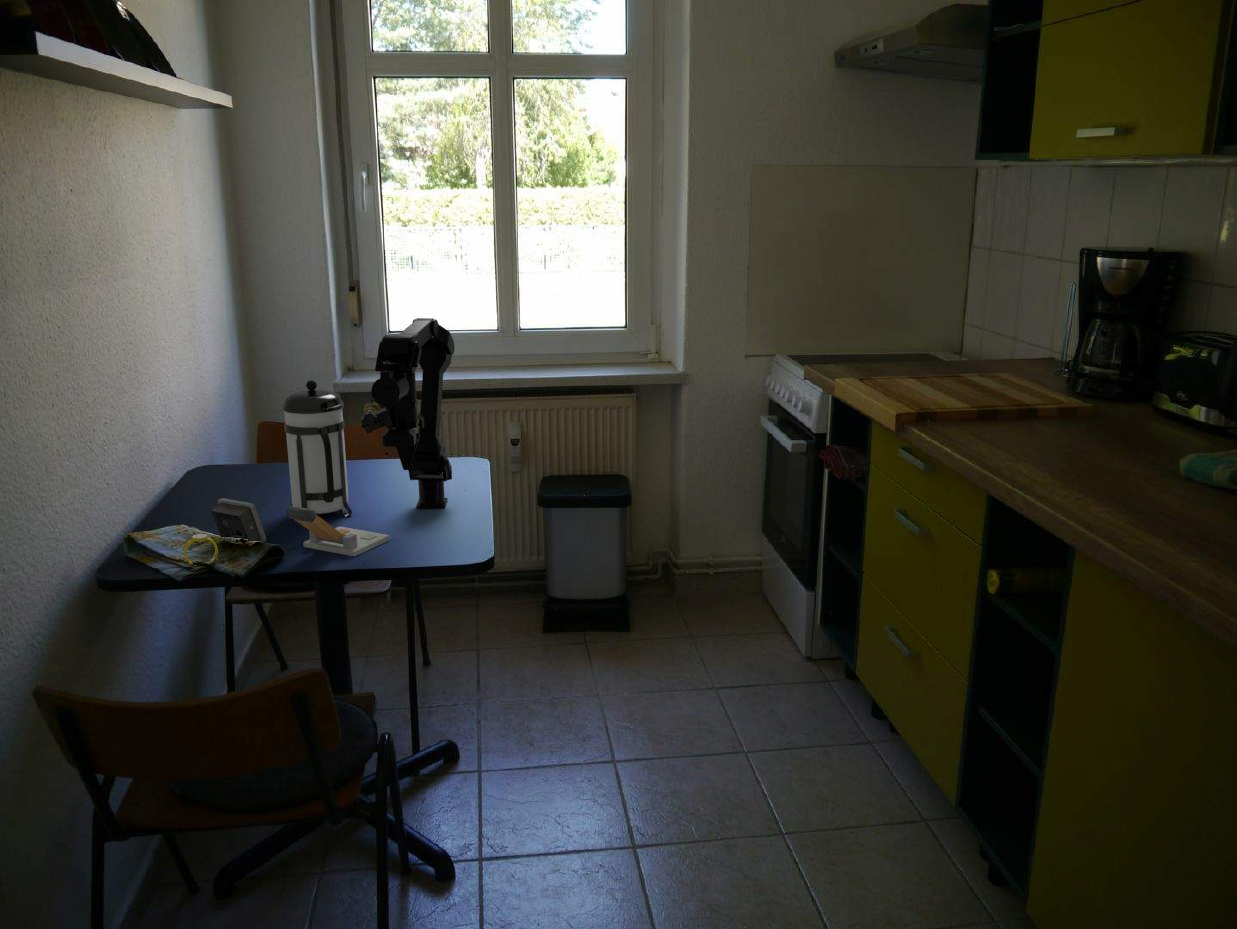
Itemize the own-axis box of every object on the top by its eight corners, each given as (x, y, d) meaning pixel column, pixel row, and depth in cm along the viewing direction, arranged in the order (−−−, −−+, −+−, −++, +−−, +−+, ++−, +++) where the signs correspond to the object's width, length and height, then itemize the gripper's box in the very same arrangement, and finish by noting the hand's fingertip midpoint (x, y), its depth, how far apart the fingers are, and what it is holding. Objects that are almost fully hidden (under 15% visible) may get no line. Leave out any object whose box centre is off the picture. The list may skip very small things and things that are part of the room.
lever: (326, 532, 208) (288, 503, 198) (349, 536, 206) (312, 507, 195) (321, 542, 207) (282, 514, 197) (345, 547, 205) (307, 519, 194)
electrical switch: (267, 542, 211) (260, 500, 207) (249, 552, 206) (241, 509, 203) (233, 536, 214) (225, 494, 211) (214, 546, 210) (206, 503, 207)
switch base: (340, 530, 218) (338, 515, 217) (389, 539, 212) (388, 523, 211) (303, 546, 208) (302, 530, 207) (354, 556, 203) (353, 539, 202)
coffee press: (268, 520, 224) (256, 384, 216) (314, 500, 238) (304, 372, 231) (334, 530, 218) (324, 390, 210) (378, 508, 232) (370, 377, 224)
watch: (216, 561, 201) (216, 532, 199) (219, 565, 198) (218, 536, 197) (183, 564, 198) (182, 535, 196) (185, 569, 195) (184, 539, 194)
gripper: (369, 388, 220) (374, 459, 224) (354, 406, 202) (359, 482, 206) (422, 387, 221) (426, 458, 225) (411, 405, 203) (415, 481, 207)
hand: (406, 469), depth 216 cm, fingers closed
